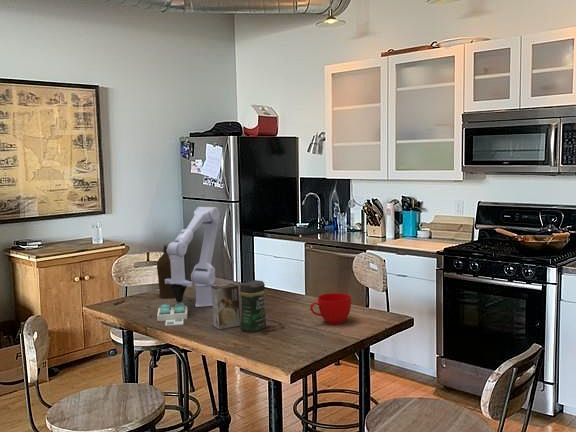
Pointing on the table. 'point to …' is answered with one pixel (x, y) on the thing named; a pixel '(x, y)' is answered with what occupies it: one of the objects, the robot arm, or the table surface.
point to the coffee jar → (253, 306)
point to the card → (174, 322)
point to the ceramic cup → (333, 307)
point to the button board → (172, 315)
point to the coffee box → (226, 306)
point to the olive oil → (164, 275)
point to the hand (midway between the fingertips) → (179, 301)
